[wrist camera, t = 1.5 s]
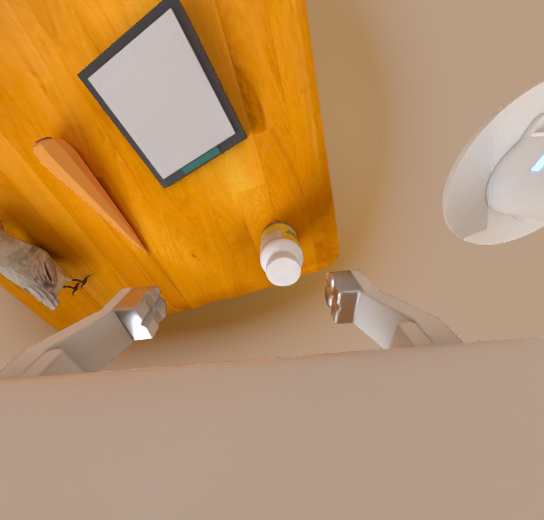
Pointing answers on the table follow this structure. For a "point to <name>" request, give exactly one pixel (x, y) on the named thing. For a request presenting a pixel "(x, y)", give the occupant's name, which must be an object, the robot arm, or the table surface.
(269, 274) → the pill bottle
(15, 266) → the decorative bird
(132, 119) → the scale
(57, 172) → the carrot
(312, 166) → the table surface
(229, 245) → the table surface
